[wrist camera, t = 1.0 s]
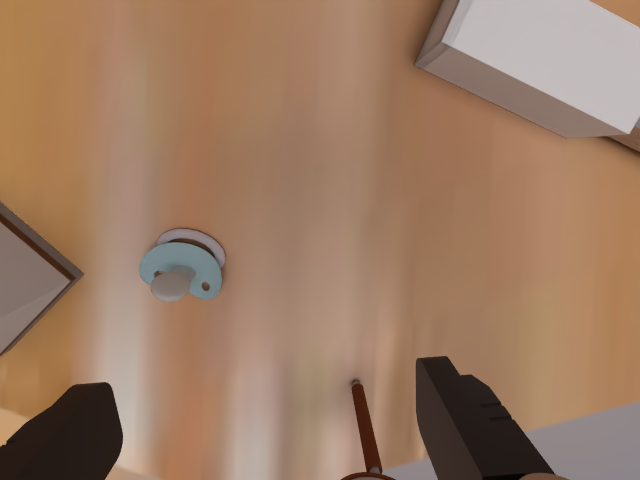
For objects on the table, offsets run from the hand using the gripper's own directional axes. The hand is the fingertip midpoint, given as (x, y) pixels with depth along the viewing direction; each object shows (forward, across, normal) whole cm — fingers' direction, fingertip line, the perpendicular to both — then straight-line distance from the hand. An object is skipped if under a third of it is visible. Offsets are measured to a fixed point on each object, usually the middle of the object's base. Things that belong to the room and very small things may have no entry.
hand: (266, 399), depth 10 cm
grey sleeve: (+25, -19, -12) cm, 34 cm away
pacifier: (+25, +10, +3) cm, 28 cm away
